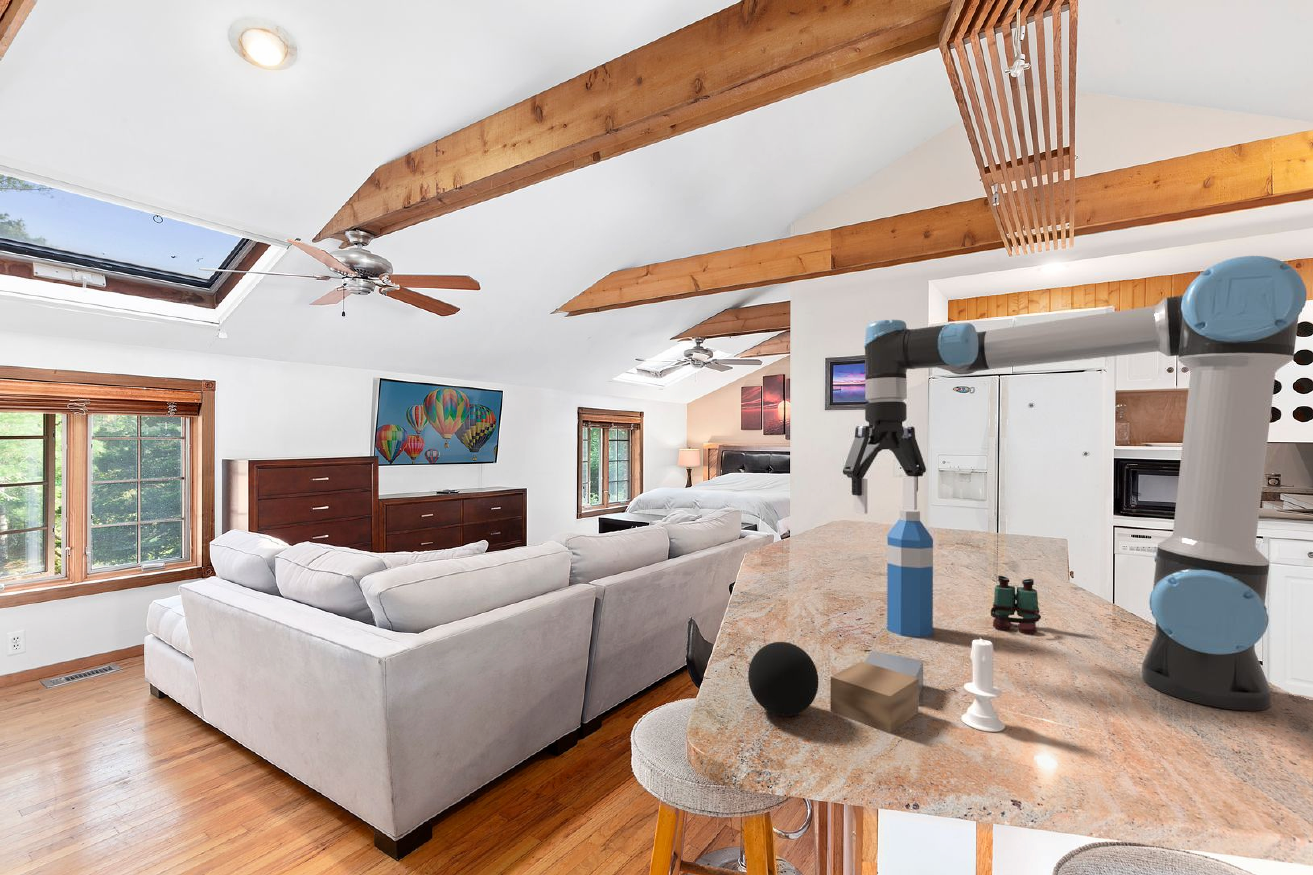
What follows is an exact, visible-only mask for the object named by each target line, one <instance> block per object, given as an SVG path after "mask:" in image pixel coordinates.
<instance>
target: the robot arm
mask: <svg viewBox="0 0 1313 875" xmlns="http://www.w3.org/2000/svg"><path fill="white" fill-rule="evenodd" d="M1185 289H1186V290H1185V292H1184V294H1181V295H1177V296H1170V297H1169V296H1168V297H1164V298H1163V299H1162V300H1160V301H1159V303H1157V304H1156V305H1151V306H1144V307H1138V308H1130V309H1124V310H1118V311H1110V312H1105V313H1098V314H1090V315H1084V316H1078V317H1076V316H1075V317H1071V318H1064V319H1063V318H1062V319H1057V320H1056V319H1055V320H1050V321H1044V322H1037V323H1032V324H1031V323H1030V324H1025V325H1015V326H1011V327H1003V328H997V329H991V330H989V329H988V330H986V331H977V330H976V327H975V326H974V325H973V324H972V323H969V322H965V323H964V322H963V323H962V322H961V323H955V322H951V323H948V324H943V325H934V326H927V327H920V328H912V329H909V328H908V327H907V323H906V322H905V321H904V320H900V319H883V320H877V321H873V322H871V323H869V324H868V325H867V326H866V328H865V339H864V341H865V342H864V346H863V348H864V362H865V363H864V368H865V373H864V374H865V375H864V376H865V377H864V378H865V379H864V381H865V388H864V390H865V394H864V395H865V400H866V401H868V402H867V403H866V404H865V405H864V415H865V416H864V420H865V422H867V423H868V425H858V426H856V427H855V431H854V432H855V433H854V438H853V442H852V444H851V448H850V449H849V453H848V455H847V457H846V461H845V463H844V467H843V468H842V474H843V475H846V476H847V478H849V479H851V494H852V496H853V513H855V514H863V515H865V514H866V515H867V514H868V478H864V477H865V476H866V474H867V472H868V471H869V468H870V467H871V465H872V464H873V462H874V461H875V459H876V457H877V455H878V454H879V452H882V451H883V450H889V451H891V452H892V453H893V455H894V457H895V458H896V460H897V461H898V463H899V465H900V467H901V468H902V470H903V471H904V473H905V475H903V476H902V509H910V510H918V490H919V477H923V476H924V473H927V467H926V465H925V461H924V459H923V455H922V453H921V449H920V447H919V445H918V442H917V441H918V440H917V438H916V429H915V427H914V426H903V422H906V421H907V414H908V413H907V409H908V408H907V403H906V402H904V400H907V399H908V398H907V396H908V391H907V384H908V383H907V381H908V380H907V379H908V378H907V372H908V370H917V369H931V368H932V369H934V368H937V369H941V370H944V371H949V372H950V373H953V374H955V375H970V374H974V373H976V372H981V371H989V370H995V369H1005V368H1006V369H1007V368H1014V367H1022V366H1023V367H1024V366H1032V365H1033V366H1034V365H1042V364H1051V363H1053V364H1054V363H1062V362H1063V363H1064V362H1071V361H1080V360H1088V359H1099V358H1108V357H1110V358H1111V357H1117V356H1128V355H1136V354H1146V353H1155V352H1159V353H1161V354H1163V355H1164V356H1166V357H1175V356H1178V357H1177V361H1178V362H1179V363H1180V364H1182V365H1183V366H1184V367H1185V368H1187V370H1189V372H1190V373H1189V382H1188V391H1187V400H1186V407H1185V408H1186V409H1185V410H1186V411H1185V419H1184V429H1183V437H1182V446H1181V456H1180V463H1179V464H1180V466H1179V473H1178V483H1177V492H1176V493H1177V494H1176V500H1175V510H1174V511H1175V512H1174V520H1173V528H1172V529H1173V530H1172V534H1171V536H1169V537H1167V538H1166V539H1164V540H1163V541H1161V542H1159V543H1158V544H1157V547H1156V550H1155V551H1156V554H1155V556H1154V563H1155V568H1154V578H1153V585H1152V586H1153V587H1152V588H1153V589H1152V591H1150V592H1151V593H1150V595H1149V599H1148V600H1149V601H1148V602H1149V603H1148V604H1149V609H1150V610H1151V614H1152V618H1154V620H1155V635H1154V637H1153V639H1152V641H1151V644H1150V646H1149V648H1148V651H1147V653H1146V655H1145V657H1144V659H1143V661H1142V665H1141V678H1142V680H1143V681H1144V683H1146V684H1147V685H1149V686H1150V687H1152V688H1154V689H1155V690H1157V691H1160V692H1162V693H1163V694H1167V695H1170V696H1172V697H1175V698H1178V699H1181V700H1185V701H1188V702H1190V703H1191V702H1192V703H1196V704H1201V705H1204V706H1209V707H1213V708H1214V707H1215V708H1218V709H1219V708H1221V709H1227V710H1234V711H1246V712H1247V711H1248V712H1249V711H1250V712H1251V711H1254V712H1255V711H1263V710H1267V709H1269V708H1270V707H1271V706H1272V690H1271V687H1270V685H1269V683H1268V679H1267V677H1266V675H1265V673H1264V670H1263V668H1262V665H1261V663H1260V660H1259V657H1258V655H1257V654H1256V650H1255V649H1256V648H1255V647H1256V646H1255V645H1256V644H1257V643H1258V642H1259V641H1260V640H1261V639H1262V637H1263V636H1264V634H1265V633H1266V631H1267V629H1268V626H1269V625H1268V624H1269V622H1270V621H1269V614H1268V610H1267V607H1266V597H1267V596H1266V595H1267V588H1268V587H1267V586H1268V580H1269V579H1268V577H1269V570H1270V560H1269V559H1268V558H1266V556H1265V555H1264V554H1263V553H1261V552H1260V551H1259V549H1258V548H1257V547H1256V543H1257V535H1258V525H1259V518H1260V508H1261V500H1262V491H1263V481H1264V475H1265V466H1266V464H1265V463H1266V455H1267V447H1268V440H1269V433H1270V432H1269V431H1270V422H1271V414H1272V404H1273V397H1274V386H1275V379H1276V378H1275V377H1276V373H1277V372H1278V371H1279V370H1280V369H1281V368H1283V367H1284V366H1286V365H1287V364H1289V363H1290V362H1292V361H1293V360H1294V357H1295V351H1296V350H1295V349H1296V348H1295V347H1296V340H1297V331H1298V325H1299V317H1300V314H1301V313H1302V312H1303V309H1304V307H1305V306H1306V301H1307V296H1308V295H1307V294H1308V292H1307V287H1306V284H1305V282H1304V280H1303V278H1302V276H1301V274H1300V273H1299V272H1298V271H1297V270H1296V269H1295V268H1293V267H1292V266H1291V265H1290V264H1288V263H1286V262H1284V261H1282V260H1279V259H1277V258H1273V257H1269V256H1263V255H1245V256H1237V257H1233V258H1229V259H1226V260H1223V261H1220V262H1218V263H1216V264H1213V265H1212V266H1210V267H1209V268H1207V269H1205V270H1204V271H1202V272H1201V273H1200V274H1199V275H1198V276H1196V278H1194V280H1192V282H1191V283H1190V284H1189V285H1188V287H1187V288H1185Z"/></svg>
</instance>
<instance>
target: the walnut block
mask: <svg viewBox="0 0 1313 875" xmlns="http://www.w3.org/2000/svg"><path fill="white" fill-rule="evenodd" d="M919 697H920V694H919V678H916V677H912V676H909V675H906V674H902V673H899V672H896V671H892V670H889V669H885V668H882V667H879V666H875V665H872V664H869V663H865V662H864V661H858V662H856V663H855V664H853V665H851V666H849V667H847V668H845V669H843V670H841V671H839V672H837V673H835V674H833V675H831V676H830V708H829V710H830V712H832V713H836V714H838V715H840V716H843V717H846V718H848V719H851V720H854V721H856V722H858V723H861V724H864V725H866V726H867V725H868V726H869V727H872V728H875V729H878V730H880V731H883V732H885V733H888V734H891V733H893V732H894V731H895V730H897V729H899V727H902V725H904V724H905V723H906V722H908V721H909V720H911V719H912V718H913V717H914V716H916V715H917V714H919V712H920V711H919V709H920V708H919V707H920V706H919V703H920V702H919V700H920V699H919Z"/></svg>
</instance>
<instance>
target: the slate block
mask: <svg viewBox="0 0 1313 875" xmlns="http://www.w3.org/2000/svg"><path fill="white" fill-rule="evenodd" d="M863 662H865V663H869V664H872V665H875V666H879V667H882V668H885V669H889V670H892V671H896V672H899V673H902V674H906V675H909V676H912V677H916V678H919V695H920V693H921V692H922V689H923V687H924V659H917V658H912V657H906V656H901V655H897V654H891V653H886V652H882V651H881V652H879V651H874V650H871V652H870V653H869V654H868V656H867V657H866V658H865V660H864V661H863Z"/></svg>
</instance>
